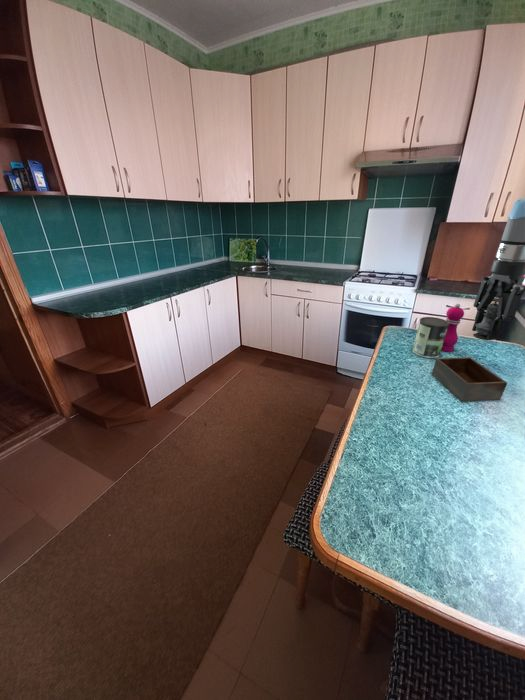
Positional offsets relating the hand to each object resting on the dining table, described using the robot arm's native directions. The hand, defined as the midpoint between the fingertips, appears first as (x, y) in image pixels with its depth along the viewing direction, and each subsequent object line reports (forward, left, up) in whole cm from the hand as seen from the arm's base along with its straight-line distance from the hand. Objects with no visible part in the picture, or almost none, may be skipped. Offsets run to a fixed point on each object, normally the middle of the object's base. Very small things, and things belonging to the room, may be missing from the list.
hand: (483, 334), depth 92 cm
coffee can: (+1, -23, -19) cm, 30 cm away
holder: (+2, +2, -18) cm, 19 cm away
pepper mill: (-9, -26, -19) cm, 33 cm away
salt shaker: (0, 0, -1) cm, 1 cm away
